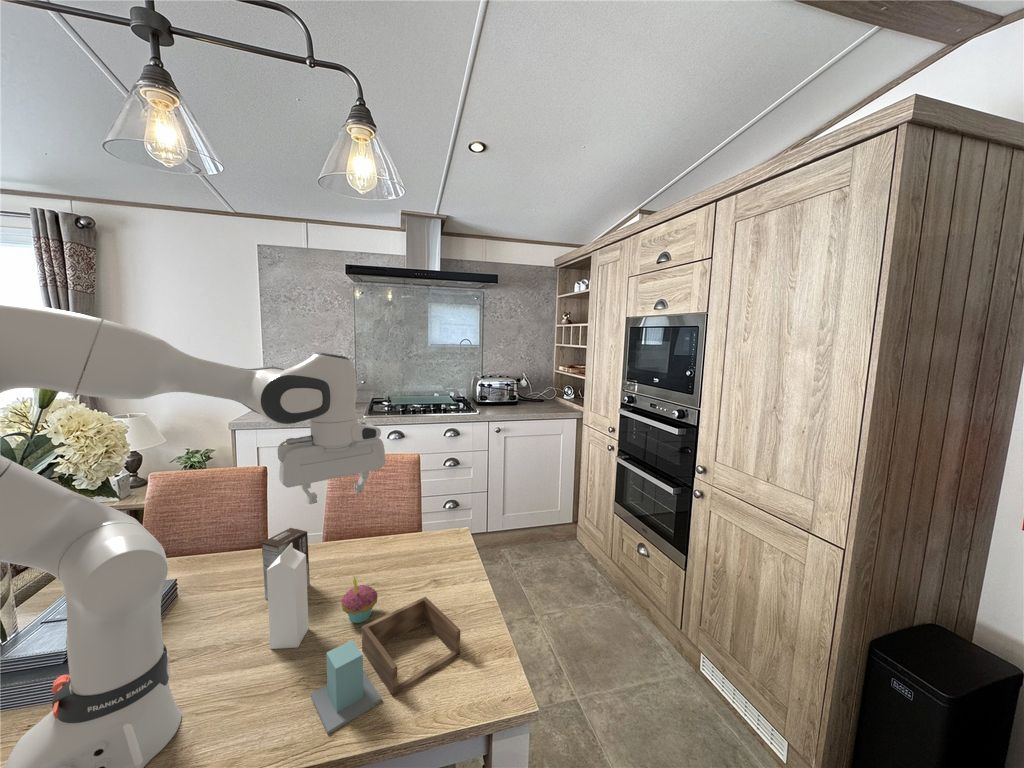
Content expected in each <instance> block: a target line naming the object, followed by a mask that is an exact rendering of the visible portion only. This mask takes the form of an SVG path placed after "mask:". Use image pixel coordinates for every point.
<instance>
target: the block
mask: <svg viewBox="0 0 1024 768" xmlns="http://www.w3.org/2000/svg"><path fill="white" fill-rule="evenodd" d="M361 651H362V650H361V649H360V648H359V647H358V646H357V644H356V642H355V641H354V640H353V639H351V640H349V641H347V642H345V643H344V644H341V645H339V646H337V647H335V648H332V649H331V650H329V651H327V652H326V683H327V684H326V685H327V688H328V696H329V699H330V701H331V703H332V705H333V707H334V709H335V711H336V713H338V712H339V711H341V710H343V709H344V708H346V707H348V706H350V705H351V704H353V703H355V702H356V701H358V700H360V699H361V698H363V670H364V662H363V659H364V657H363V655H364V653H363V652H361Z"/></svg>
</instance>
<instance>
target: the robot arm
mask: <svg viewBox="0 0 1024 768" xmlns="http://www.w3.org/2000/svg"><path fill="white" fill-rule="evenodd" d="M102 320H103V321H102ZM26 388H27V389H41V390H48V391H54V392H62V393H67V394H71V395H72V394H73V395H74V394H75V393H76V394H75V395H79V396H83V397H85V396H86V397H92V398H101V399H102V398H103V399H112V400H115V399H116V400H117V399H118V400H143V399H148V398H151V397H153V396H157V395H162V394H167V393H189V394H195V395H196V394H197V395H201V396H207V397H213V398H219V399H225V400H231V401H234V402H237V403H240V404H242V405H243V406H244V407H246V408H248V409H249V410H251V411H252V412H254V413H256V414H258V415H261V416H263V417H265V418H266V419H269V420H270V421H272V422H274V423H278V424H283V425H291V424H297V423H300V422H304V421H308V420H309V421H310V422H309V424H310V435H304V436H300V437H295V438H294V437H290V438H286V439H285V440H284V441H282V442H281V443H280V444H279V445H278V447H277V458H278V460H279V463H280V464H279V474H278V476H279V479H278V480H279V481H280V484H282V485H283V486H284V487H286V488H289V489H290V488H294V487H299V486H300V489H301V490H302V491H303V492H304V493H305V494H306V503H307V504H308V505H313V504H316V503H318V500H317V499H318V494H316V492H310V490H309V489H311V488H312V487H311V484H313V483H318V482H323V481H327V480H332V479H338V478H342V477H347V476H352V475H357V474H358V475H360V476H359V478H358V481H357V482H355V483H353V487H354V488H353V490H354V492H355V493H356V494H359V493H363V492H364V491H365V487H364V486H365V483H366V482H367V480H368V478H369V477H370V476H369V475H370V471H371V472H372V471H377V470H381V469H383V468H384V466H385V464H386V451H385V445H384V441H383V440H382V439H381V438H380V437H381V435H382V431H381V428H379V427H377V426H376V425H373V424H371V423H368V422H362V421H358V413H357V410H356V402H357V398H358V386H357V375H356V370H355V365H354V363H353V361H352V360H351V359H350V358H348V357H347V356H343V355H337V354H333V353H325V352H316V353H313V354H312V355H311V356H310V357H308V358H307V359H305V360H304V361H302V362H300V363H298V364H296V365H293V366H291V367H289V368H286V369H283V368H281V367H276V366H263V367H261V366H260V367H256V368H244V367H243V368H242V367H241V368H240V367H237V366H232V365H229V364H228V365H227V364H223V363H220V362H215V361H212V360H206V359H202V358H199V357H196V356H193V355H191V354H188V353H185V352H184V351H181V350H180V349H177V348H176V347H174V346H173V345H171V344H169V343H168V342H167V341H165V340H163V339H161V338H160V337H156V335H155V336H154V335H152V334H150V333H147V332H145V331H142V330H139V329H137V328H134V327H132V326H128V325H125V324H123V323H122V324H121V323H118V322H115V321H111V320H107V319H103V318H99V317H94V316H92V315H88V314H83V313H78V312H74V311H73V312H72V311H68V310H63V309H58V308H51V307H47V306H46V307H45V306H40V305H32V304H25V303H17V302H7V301H4V302H3V301H0V394H1V393H4V392H7V391H11V390H14V389H26ZM76 390H77V391H76ZM0 563H6V564H13V565H18V566H24V567H29V568H31V569H32V568H33V569H36V570H40V571H43V572H46V573H48V574H50V575H51V576H53V577H54V578H55V579H57V580H58V581H59V582H60V583H61V586H62V589H63V593H64V596H65V603H66V605H65V606H66V638H65V639H66V640H65V646H66V654H67V655H66V656H67V664H68V672H69V674H62V675H60V676H58V677H57V678H56V679H55V680H54V681H53V683H52V687H51V693H52V694H53V697H52V700H51V703H52V704H51V706H52V707H51V708H52V710H51V711H50V712H49V713H48V714H47V715H45V716H44V717H43V718H41V719H40V720H39V721H38V722H37V723H36V724H35V725H34V726H33V727H31V728H30V729H29V730H27V731H26V732H25V733H24V734H23V735H22V736H21V737H20V739H18V741H17V743H16V744H15V745H14V747H13V749H12V750H11V752H10V755H9V757H8V758H7V761H6V763H5V765H4V768H145V767H146V765H148V763H149V762H150V761H151V760H152V759H153V758H154V757H155V756H157V755H158V754H159V753H160V752H161V751H162V750H163V749H164V748H165V747H166V746H167V745H168V743H169V742H170V741H171V740H172V739H173V737H174V736H175V735H176V733H177V731H178V729H179V727H180V724H181V722H182V712H181V709H180V708H179V707H178V705H177V703H176V701H175V699H174V697H173V694H172V691H171V687H170V685H169V679H170V673H171V672H170V659H169V658H170V657H169V653H168V650H167V647H166V645H165V644H164V639H163V628H162V627H163V625H162V611H161V609H162V601H163V600H162V598H163V592H164V588H165V587H164V585H165V582H166V579H167V575H168V571H169V570H168V569H169V568H168V561H167V556H166V551H165V549H164V546H163V545H162V543H160V541H158V539H157V538H156V537H154V536H153V535H152V533H150V532H149V531H148V529H146V528H145V527H144V526H143V525H142V524H141V523H140V521H138V520H137V519H136V518H134V517H133V516H130V515H129V514H127V513H125V512H123V511H120V510H118V509H116V508H114V507H111V506H109V505H107V504H105V503H102V502H100V501H97V500H95V499H94V498H91V497H89V496H86V495H83V494H80V493H79V492H76V491H74V490H71V489H70V488H67V487H64V486H62V485H60V484H59V483H58V482H57V483H56V482H55V481H53V480H51V479H49V478H47V477H45V476H43V475H40V474H38V473H37V472H35V471H32V470H31V469H29V468H27V467H25V466H23V465H21V464H19V463H17V462H15V461H13V460H11V459H10V458H7V457H5V456H3V455H1V454H0Z"/></svg>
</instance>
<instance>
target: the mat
mask: <svg viewBox="0 0 1024 768" xmlns="http://www.w3.org/2000/svg"><path fill="white" fill-rule="evenodd" d="M310 698H311V700H312V703H313V705H314V708H315V710H316V712H317V714H318V717H319V719H320V721H321V723H322V725H323V728H324V730H325V733H326V734H327V735H330V734H331V733H333V732H334V731H336V730H339V728H341V727H342V726H344V725H346V724H348V723H349V722H350V721H352V720H354V719H356V718H357V717H359V716H361V715H362V714H363V713H365V712H367V711H369V710H370V709H372V708H374V707H375V706H376V705H378V704H379V703H381V702H383V698H382V696H381V695H380V693H379V692H378V690H377V689H376V687H375V685H374V684H373V682H372V681H371V679H370V678H369V676H368V675H367V673H366V671H365V670H364V669H363V698H361V699H360V700H358V701H356V702H355V703H353V704H351V705H350V706H348V707H346V708H344V709H343V710H341V711H339V712H338V713H336V711H335V709H334V707H333V705H332V703H331V701H330V699H329V696H328V688H327V684H325V685H324V686H322V687H321V688H318V689H317V690H314V691H313V692H311V693H310Z"/></svg>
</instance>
